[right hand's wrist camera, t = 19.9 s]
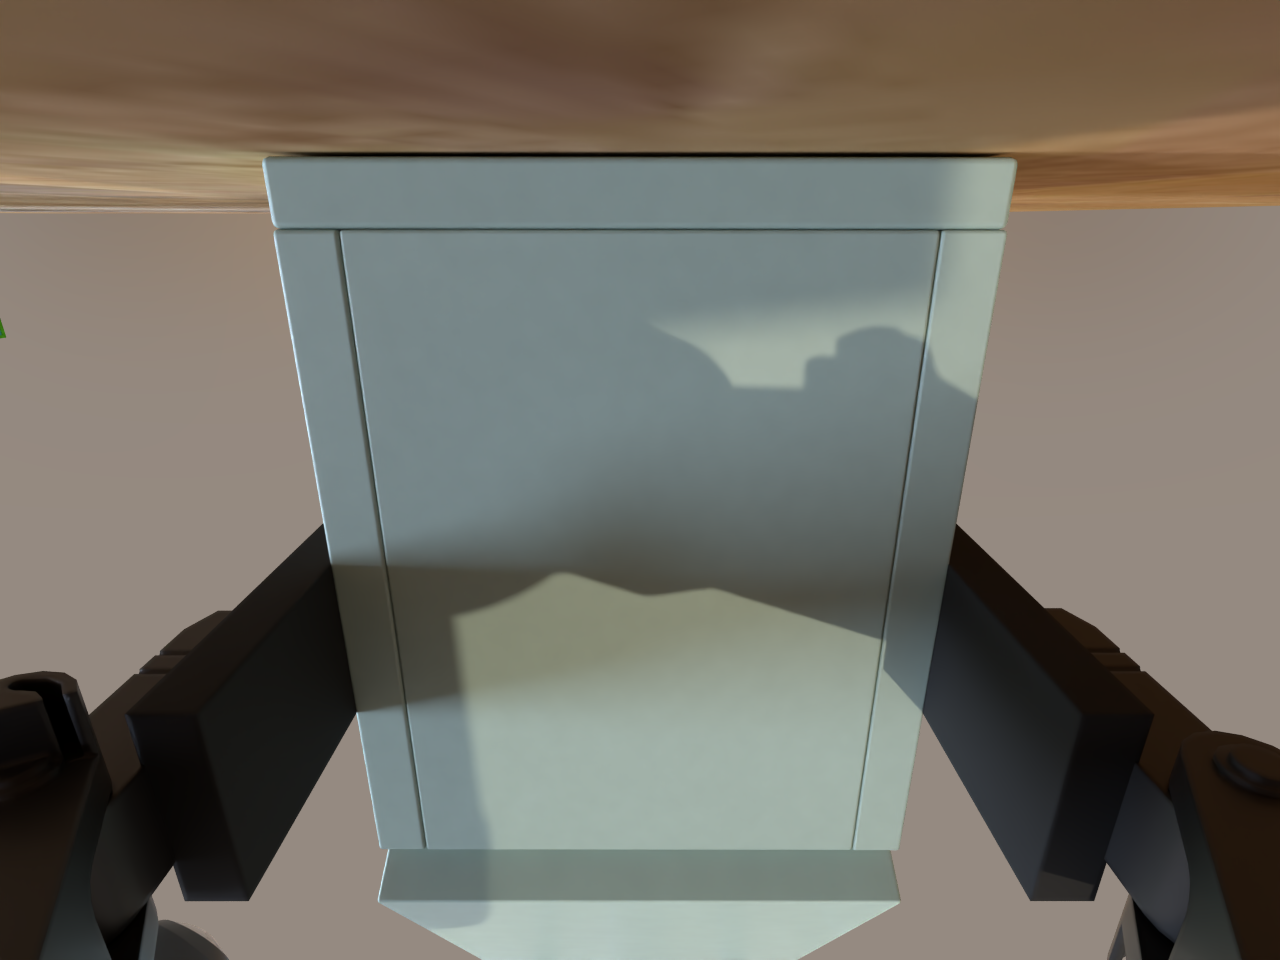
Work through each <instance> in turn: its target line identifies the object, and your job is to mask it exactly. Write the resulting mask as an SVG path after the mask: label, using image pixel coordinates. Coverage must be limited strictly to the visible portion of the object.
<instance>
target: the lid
mask: <svg viewBox="0 0 1280 960" xmlns="http://www.w3.org/2000/svg"><path fill="white" fill-rule="evenodd" d="M378 902H379V903H381V904H382V905H384V906H386V907H388V908H390V909H392V910H393V911H395V912H397V913H399V914H401V915H402V916H404V917H406V918H408V919H410V920H411V921H413V922H415V923H417V924H419V925H420V926H422V927H424V928H426V929H428V930H429V931H431V932H433V933H435V934H437V935H439V936H440V937H442V938H444V939H446V940H448V941H450V942H451V943H453V944H455V945H457V946H458V947H460V948H462V949H464V950H466V951H467V952H469V953H471V954H473V955H475V956H477V957H478V958H480V959H482V960H798V959H799V958H801V957H803V956H805V955H807V954H808V953H810V952H812V951H814V950H816V949H817V948H819V947H821V946H823V945H825V944H827V943H828V942H830V941H832V940H834V939H836V938H837V937H839V936H841V935H843V934H845V933H846V932H848V931H850V930H852V929H854V928H856V927H857V926H859V925H861V924H863V923H865V922H866V921H868V920H870V919H872V918H874V917H875V916H877V915H879V914H881V913H883V912H885V911H886V910H888V909H890V908H892V907H894V906H895V905H897V904H899V903H900V902H901V899H900V894H899V889H898V884H897V880H896V875H895V870H894V865H893V860H892V856H891V851H890V850H854V849H853V848H851V849H850V850H600V849H428V848H427V845H426V847H425V848H424V849H388V854H387V858H386V863H385V868H384V873H383V877H382V882H381V887H380V892H379V896H378Z"/></svg>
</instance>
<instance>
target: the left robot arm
mask: <svg viewBox="0 0 1280 960" xmlns="http://www.w3.org/2000/svg"><path fill="white" fill-rule="evenodd" d="M158 923H159V926H158V934H157V941H156V948H155V956H154V960H229V959H228V958H227V956H226V955H225V954H224V953H223V951H222V949H221V947H220V945H219V944H218V943H217V941H216V940H215V939H214V938H213V937H212V936H211V935H210V934H208V933H207V932H206V931H204V930H202V929H201V928H199V927H196V926H193V925H190V924H186V923H178V922H173V921H170V920H160V921H158Z"/></svg>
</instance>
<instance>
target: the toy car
mask: <svg viewBox="0 0 1280 960" xmlns="http://www.w3.org/2000/svg"><path fill="white" fill-rule="evenodd" d="M0 338H6V335H5V332H4V329H3V326H2V323H1V320H0Z"/></svg>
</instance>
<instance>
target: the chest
mask: <svg viewBox="0 0 1280 960" xmlns="http://www.w3.org/2000/svg"><path fill="white" fill-rule="evenodd" d="M262 165H263V171H264V177H265V183H266V188H267V194H268V200H269V206H270V211H271V217H272V222H273V224H274V226H275V227H277V228H280V229H278V230H276V231H274V240H275V246H276V252H277V258H278V263H279V269H280V275H281V281H282V286H283V292H284V298H285V304H286V310H287V315H288V321H289V327H290V332H291V338H292V344H293V350H294V356H295V361H296V367H297V373H298V379H299V384H300V390H301V396H302V401H303V407H304V413H305V419H306V425H307V430H308V436H309V442H310V448H311V454H312V459H313V465H314V471H315V476H316V482H317V488H318V494H319V500H320V505H321V511H322V517H323V523H324V528H325V534H326V540H327V546H328V551H329V557H330V563H331V566H332V572H333V578H334V584H335V589H336V595H337V601H338V607H339V612H340V618H341V624H342V630H343V635H344V641H345V647H346V653H347V658H348V664H349V670H350V676H351V681H352V687H353V693H354V698H355V704H356V710H357V718H358V724H359V730H360V736H361V742H362V747H363V753H364V759H365V765H366V770H367V776H368V782H369V788H370V793H371V799H372V805H373V811H374V816H375V822H376V828H377V834H378V839H379V845H380V848H381V849H424V848H425V847H426V845H427V848H428V849H600V850H850V849H851V848H853V849H854V850H898V849H899V846H900V841H901V835H902V829H903V824H904V818H905V812H906V806H907V801H908V795H909V789H910V784H911V778H912V772H913V767H914V761H915V755H916V749H917V744H918V738H919V732H920V727H921V721H922V715H923V707H924V701H925V696H926V690H927V684H928V678H929V673H930V667H931V661H932V655H933V650H934V644H935V638H936V632H937V627H938V621H939V615H940V610H941V604H942V598H943V592H944V587H945V581H946V575H947V569H948V564H949V562H950V556H951V550H952V544H953V539H954V533H955V527H956V522H957V516H958V510H959V505H960V499H961V493H962V487H963V482H964V476H965V470H966V465H967V459H968V453H969V448H970V442H971V436H972V430H973V425H974V419H975V413H976V408H977V402H978V396H979V391H980V385H981V379H982V374H983V368H984V362H985V356H986V351H987V345H988V339H989V334H990V328H991V322H992V317H993V311H994V305H995V299H996V294H997V288H998V282H999V277H1000V271H1001V265H1002V260H1003V254H1004V248H1005V242H1006V237H1007V232H1006V231H1004V230H999V229H1002V228H1004V227H1005V226H1006V224H1007V222H1008V216H1009V211H1010V205H1011V199H1012V194H1013V188H1014V182H1015V176H1016V171H1017V160H1015V159H1013V158H1011V157H396V156H269V157H267V158H265V159H263V163H262Z"/></svg>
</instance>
